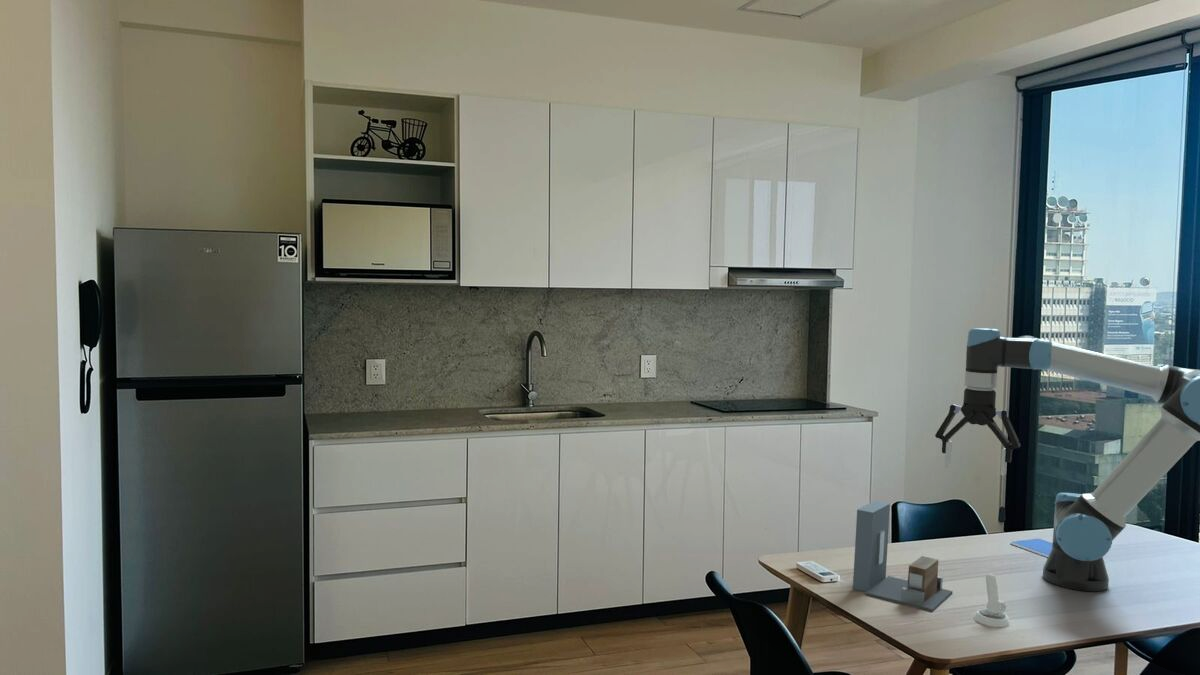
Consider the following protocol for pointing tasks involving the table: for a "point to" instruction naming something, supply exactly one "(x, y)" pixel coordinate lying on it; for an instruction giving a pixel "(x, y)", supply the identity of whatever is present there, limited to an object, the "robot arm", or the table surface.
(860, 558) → the slotted tower stand
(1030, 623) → the table surface
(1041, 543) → the tablet computer
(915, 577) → the labeled wooden box
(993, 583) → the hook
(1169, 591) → the table surface
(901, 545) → the table surface
